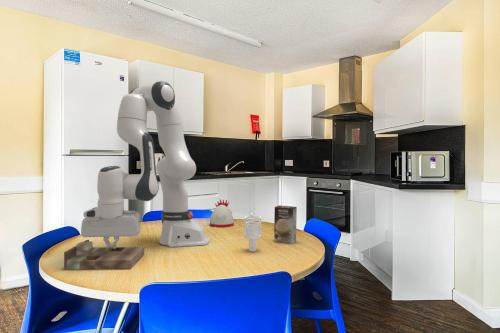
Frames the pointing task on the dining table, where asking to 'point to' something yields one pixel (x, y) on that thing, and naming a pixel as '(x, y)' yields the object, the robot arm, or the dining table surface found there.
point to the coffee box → (285, 224)
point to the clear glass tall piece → (252, 230)
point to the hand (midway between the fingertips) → (111, 248)
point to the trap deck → (103, 258)
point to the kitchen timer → (221, 216)
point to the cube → (84, 248)
